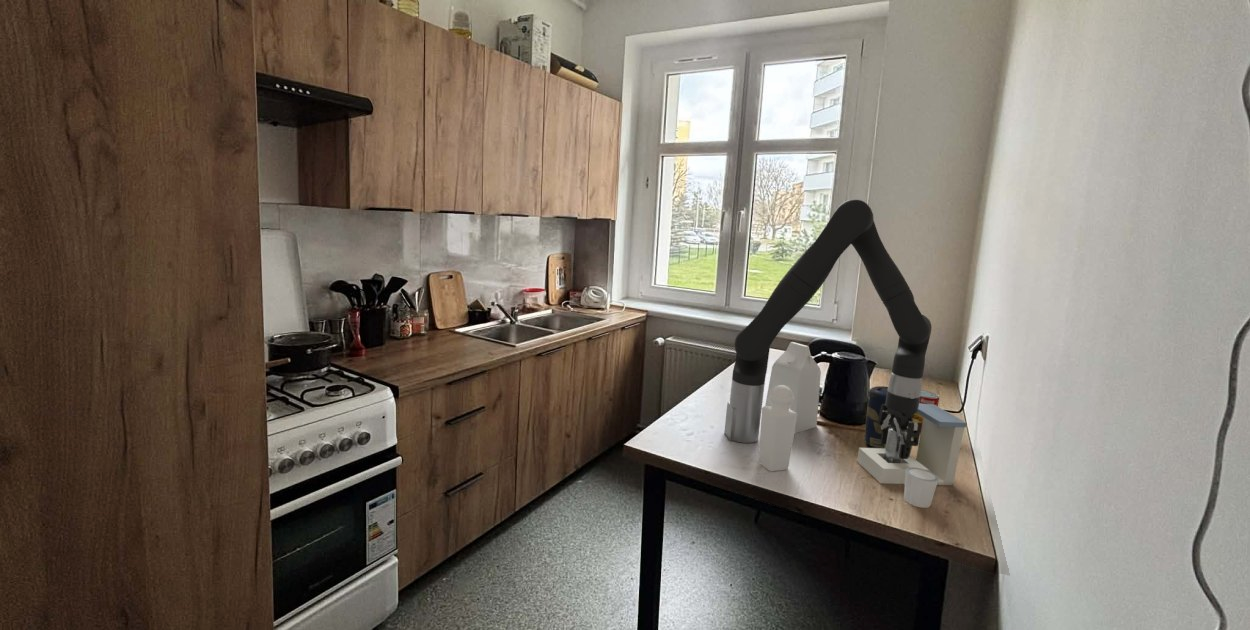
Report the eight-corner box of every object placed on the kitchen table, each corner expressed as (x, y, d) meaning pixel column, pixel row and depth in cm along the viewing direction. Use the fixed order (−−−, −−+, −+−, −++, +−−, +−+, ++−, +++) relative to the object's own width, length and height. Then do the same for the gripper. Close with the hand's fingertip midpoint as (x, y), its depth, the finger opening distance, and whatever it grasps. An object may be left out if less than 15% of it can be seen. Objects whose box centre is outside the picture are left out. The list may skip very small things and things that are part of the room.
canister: (899, 455, 150) (906, 394, 147) (862, 448, 154) (869, 389, 151) (898, 442, 159) (905, 384, 155) (864, 436, 163) (870, 379, 159)
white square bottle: (775, 459, 143) (785, 380, 139) (791, 470, 137) (801, 389, 133) (755, 461, 141) (764, 382, 137) (769, 473, 135) (780, 390, 131)
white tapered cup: (902, 504, 124) (907, 476, 122) (899, 491, 130) (903, 464, 129) (936, 512, 121) (941, 483, 120) (930, 498, 128) (935, 471, 126)
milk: (816, 426, 168) (827, 347, 163) (793, 433, 162) (804, 350, 157) (785, 414, 178) (795, 338, 173) (762, 419, 171) (771, 341, 167)
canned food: (901, 427, 173) (907, 392, 170) (911, 422, 178) (917, 388, 176) (927, 435, 167) (934, 399, 165) (936, 430, 172) (943, 395, 170)
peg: (887, 476, 138) (894, 432, 135) (878, 468, 142) (885, 426, 139) (901, 476, 138) (909, 432, 136) (893, 469, 142) (900, 426, 140)
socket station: (881, 484, 133) (892, 420, 130) (856, 460, 146) (865, 401, 142) (954, 486, 134) (966, 422, 131) (922, 462, 147) (933, 404, 144)
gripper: (875, 382, 142) (866, 439, 145) (906, 400, 128) (895, 463, 131) (901, 383, 143) (892, 439, 146) (935, 401, 129) (924, 464, 132)
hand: (893, 450), depth 139 cm, fingers open, 8 cm apart
